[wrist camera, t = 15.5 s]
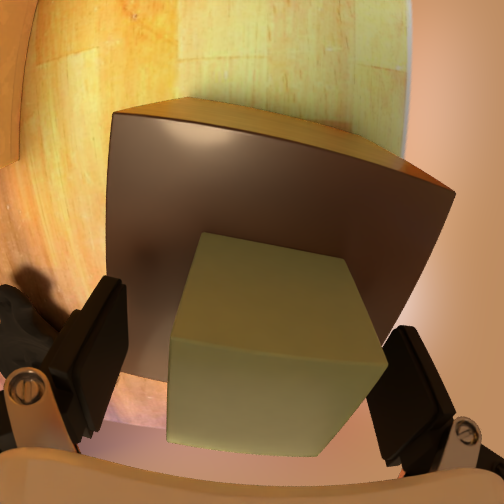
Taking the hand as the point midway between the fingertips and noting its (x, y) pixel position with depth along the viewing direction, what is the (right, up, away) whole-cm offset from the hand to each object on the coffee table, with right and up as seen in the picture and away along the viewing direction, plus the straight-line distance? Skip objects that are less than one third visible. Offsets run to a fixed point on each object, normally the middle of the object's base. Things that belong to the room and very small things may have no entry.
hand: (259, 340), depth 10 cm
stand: (0, +7, +12) cm, 14 cm away
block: (0, +1, +2) cm, 2 cm away
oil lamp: (-23, -7, +20) cm, 31 cm away
